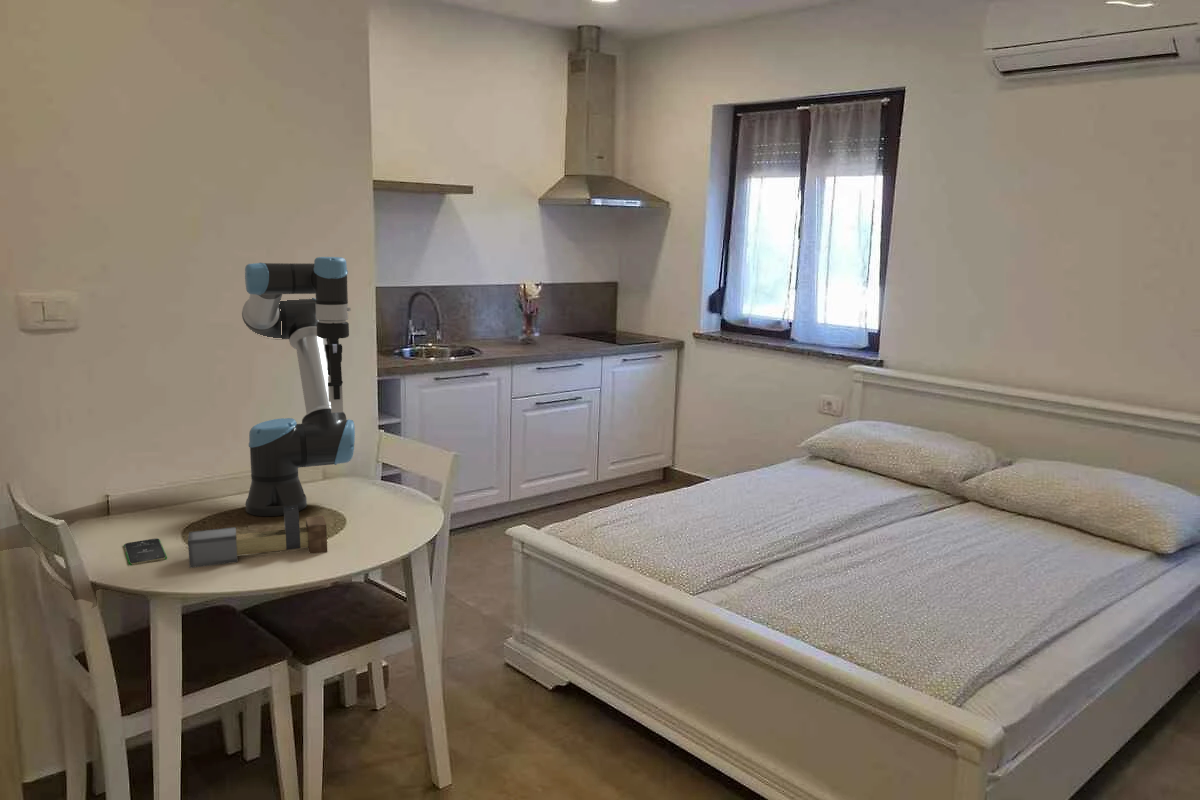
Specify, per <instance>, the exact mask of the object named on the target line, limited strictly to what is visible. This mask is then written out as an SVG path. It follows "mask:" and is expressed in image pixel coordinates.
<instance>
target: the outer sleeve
mask: <svg viewBox="0 0 1200 800" xmlns="http://www.w3.org/2000/svg"><path fill="white" fill-rule="evenodd" d="M236 535H237V529H236V527H226V528H225V527H223V528H218V529H217V528H216V529H207V530H206V529H204V530H197V531H189V532H188V537H187V538H188V539H187V547H188V558H189V559H188V562H189V569H191V568H200V567H207V566H217V565H225V564H234V563H238V555H237V546H236Z"/></svg>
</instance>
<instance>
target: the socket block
mask: <svg viewBox="0 0 1200 800" xmlns="http://www.w3.org/2000/svg"><path fill="white" fill-rule="evenodd" d="M305 527H307V528H308V539H309V547H307V550H308V553H309V555H314V554H321V553H328V536H327V535H328V533H327V522H326V519H325V517H324V515H317V516H308V517H307V516H306V517H305Z"/></svg>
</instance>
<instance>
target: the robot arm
mask: <svg viewBox="0 0 1200 800" xmlns="http://www.w3.org/2000/svg"><path fill="white" fill-rule="evenodd" d="M347 266H348V265H347V260H346V259H345V258H344V257H340V256H317V257H316V258H315V259H314V261H313V263H311V262H309V263H295V262H294V263H293V262H292V263H283V262H282V263H281V262H280V263H279V262H277V263H276V262H275V263H273V262H256V263H254V262H253V263H248V264H246V265H245V268H244V283H245V289H246V292H247V293H248V294H249V297H248V299H247V300H246V301H245V303H243V306H242V310H241V317H242V318H241V319H242V321H243V322H244V325H245V324H246V325H245V326H246V327H247V328H248V329H249V330H250V331H251V330H252V331H251V332H253V333H254V332H255V333H254V334H256V333H257V334H256V335H258V334H260V335H263V336H267V337H273V338H282V339H281V340H288V342H289V344H290V346H291V347H292V348H293V349H295V350H296V356H297V362H298V363H297V364H298V367H299V368H298V369H299V375H300V380H301V386H302V388H301V389H302V393H303V394H302V395H303V400H304V401H303V402H304V406H305V413H306V414H305V415H304V416H303V417H302V419H301V423H297V420H296V419H294V418H292V417H291V418H290V417H286V418H284V417H283V418H281V417H280V418H275V419H269V420H264V421H262V422H259V423H257V424H255V425H253V426H252V427H251V428H250V430H249V433H248V434H249V437H248V441H249V442H248V447H249V455H250V456H249V457H250V479H251V480H250V481H251V483H250V487H249V491H248V494H247V498H246V501H245V512H246V513H247V514H249V515H253V516H258V517H278V516H284V507H285V506H295V505H297V506H298V510H299V512H301V511H302V510H304V509H306V507H307V505H308V503H307V502H308V501H307V496H306V494H305V492H304V489H303V485H302V483H301V481H300V478H299V469H300V468H310V467H319V466H331V465H332V466H333V465H334V466H337V465H339V464H345V463H346V464H347V463H349V462H351V461H352V459H353V457H354V453H355V451H354V450H355V440H356V439H355V438H356V437H355V436H356V429H355V428H356V427H355V423H354V422H355V421H354V420H352V419H350V418H348V419H347V416H346V413H345V411H344V399H343V398H344V397H343V396H344V395H343V383H344V382H343V376H342V375H343V372H342V362H343V355H342V354H343V344H342V343H340V341H339V340H340V339H346V338H348V337H349V336H350V325H349V324H350V323H349V322H348V321H347V320H349V312H351V311H352V309H351V307H349V301H348V300H349V298H348V297H349V295H348V274H349V271H348V267H347ZM306 294H307V295H312V294H314V295H315V297H311V298H312V299H310V298H298V299H299V300H287V301H280V300H281V299H282V297H283V295H306ZM279 303H280V304H279ZM280 309H281V311H280ZM281 321H282V335H281ZM260 335H259V336H260Z"/></svg>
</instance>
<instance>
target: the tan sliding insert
mask: <svg viewBox="0 0 1200 800" xmlns="http://www.w3.org/2000/svg"><path fill="white" fill-rule="evenodd" d="M299 512H300V511H299V510H298V506H297V505H295V506H285V507H284V515H283V523H284V529H277V530H269V531H268V530H267V531H260V532H259V531H258V532H248V533H239V534H236V546H237V556H242V555H250V554H251V555H252V554H260V553H266V552H267V553H268V552H276V551H278V552H279V551H287V550H289V551H290V550H298V549H301V548H302V549H304V548H308V547H309V539H308V528H307V527H306V526H304V527H300V513H299Z"/></svg>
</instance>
